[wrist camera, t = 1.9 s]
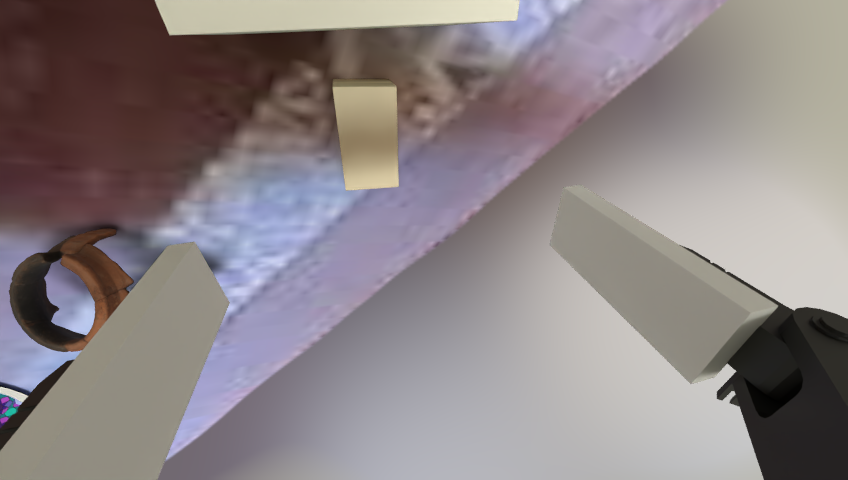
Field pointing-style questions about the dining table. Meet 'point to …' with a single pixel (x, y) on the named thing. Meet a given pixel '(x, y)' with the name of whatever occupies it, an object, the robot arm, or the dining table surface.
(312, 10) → the slot box
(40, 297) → the pottery mug
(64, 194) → the dining table surface
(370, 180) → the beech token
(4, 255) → the dining table surface
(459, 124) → the dining table surface
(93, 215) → the dining table surface
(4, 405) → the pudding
